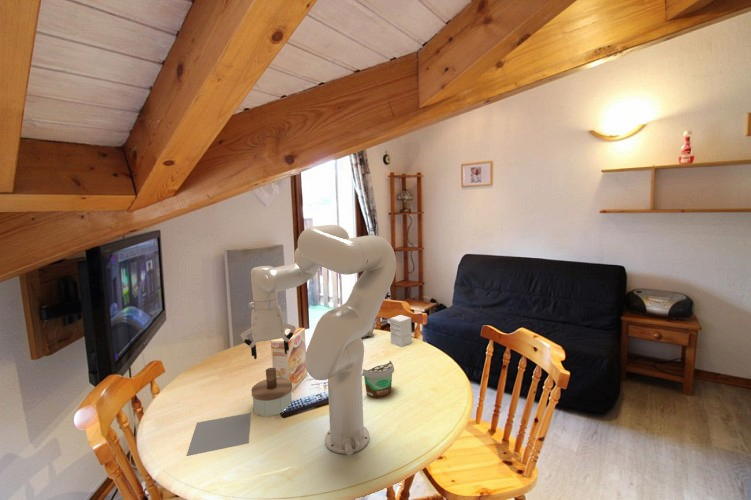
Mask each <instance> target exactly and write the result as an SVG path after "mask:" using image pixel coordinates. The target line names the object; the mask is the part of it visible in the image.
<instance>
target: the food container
mask: <svg viewBox="0 0 751 500" xmlns="http://www.w3.org/2000/svg"><path fill="white" fill-rule="evenodd" d="M394 372H395V368H394V364H393V362H392V361H391V360H389V362H387V363H385V364H381V365H377V366H373V367H372V368H370V369H367V370H366V369H364V368H362V377H363V378H364V385H365V392H366V393H365V394H366V396H367V397H369V398H371V399H372V398H373V399H383V398H386V397H389V396H390V395H391V393H392V382H393V380H392V379H393V374H394Z"/></svg>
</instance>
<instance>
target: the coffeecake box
mask: <svg viewBox="0 0 751 500" xmlns="http://www.w3.org/2000/svg"><path fill="white" fill-rule="evenodd" d="M305 330H306V329H305V327H296V329H295V332H294V334H293V336H292V337H291V339H290V340H289V342H288V345H289V350H288V351H287V354H285V351H284V340H283V339H282V338H280V339H274V340H270V349H271V361H272V363H271V364H272V367H271V368H276V378H286V379H288V380H290V381H291V382H292V390H291V393H293V392H294V390H296V388H297V387H298V386H299V385H300V384H301V383H302V381H303V380H304V379H305V378H307V376H308V371H307V369H306V365H305V355H306V351H307V349H306V348H307V346H306V345H307V344H306V331H305ZM289 332H290V329H288V328H285V334H286V335H288V334H289Z"/></svg>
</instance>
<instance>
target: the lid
mask: <svg viewBox="0 0 751 500" xmlns="http://www.w3.org/2000/svg"><path fill="white" fill-rule="evenodd" d="M265 376H266V377H265V378H266V379H263V380H261V381H258V382H257V383H256V384H254V385H253V386H252V388H251V391H250V392H251V397H252V399H253V398H255V399H257V400H261V401H269V400H275V399H279V398H281V397H284V396H286V395H287V394H288V393H290V391H291V390H292V382H291V381H290V380H288V379H286V378H276V368H273V367H268V368H267V369H266V370H265Z"/></svg>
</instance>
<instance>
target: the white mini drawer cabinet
mask: <svg viewBox="0 0 751 500" xmlns="http://www.w3.org/2000/svg"><path fill="white" fill-rule="evenodd" d="M389 321H390V322H389V324H390V325H389V326H390V327H389V328H390V343H391V344H393V345H395V346H398V347H400V348H402V347H405V346H408V345H409V344H412V343H413V342H412V339H413V337H412V335H413V333H412V317H409V316H405V315H403V314H399V315H396V316H394V317H390V318H389Z"/></svg>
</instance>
